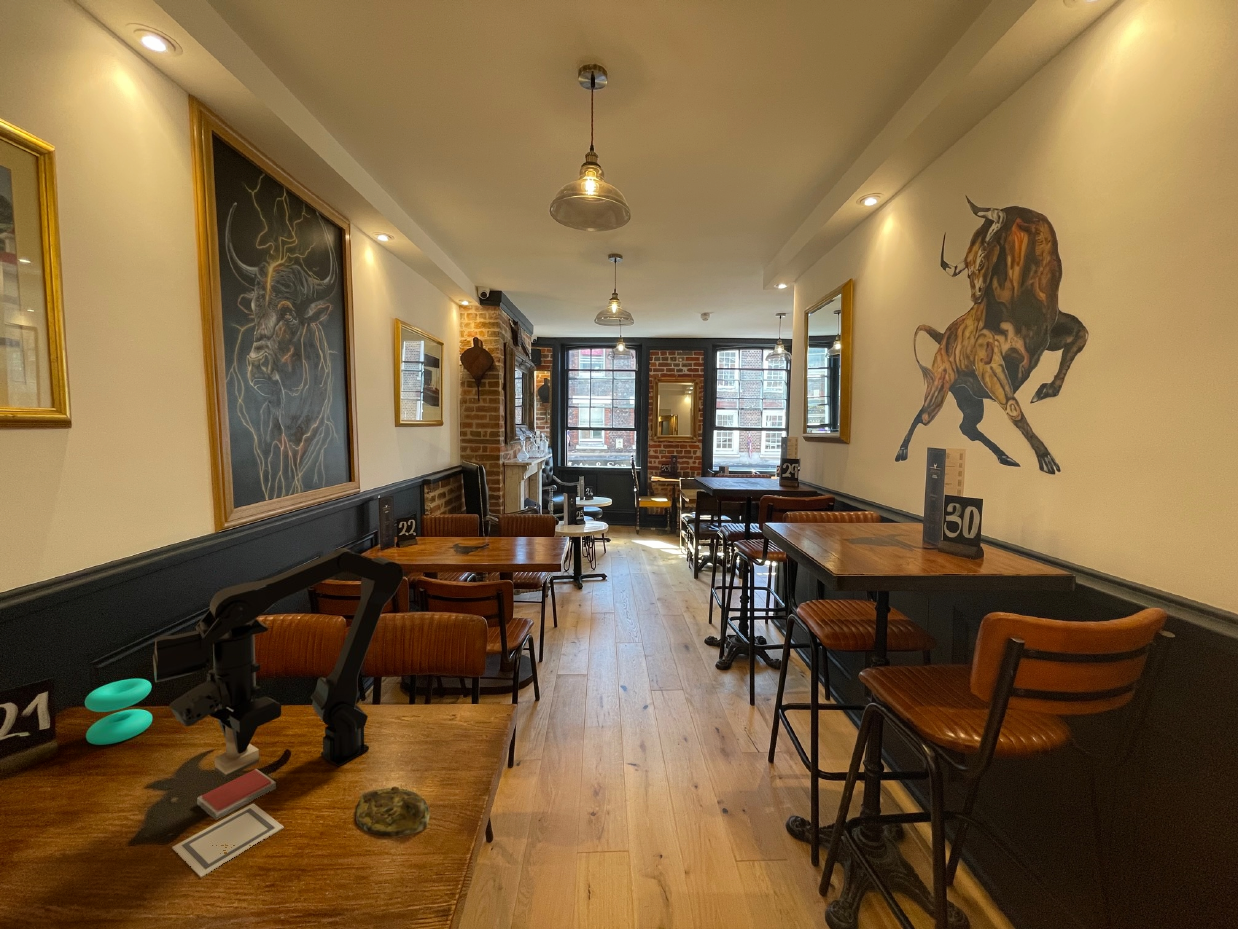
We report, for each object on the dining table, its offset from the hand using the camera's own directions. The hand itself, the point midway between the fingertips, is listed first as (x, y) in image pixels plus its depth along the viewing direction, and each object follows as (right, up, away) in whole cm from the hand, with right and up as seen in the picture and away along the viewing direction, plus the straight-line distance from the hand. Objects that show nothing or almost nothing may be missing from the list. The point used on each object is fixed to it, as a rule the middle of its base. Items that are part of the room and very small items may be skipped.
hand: (237, 749), depth 89 cm
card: (+5, -9, -9) cm, 14 cm away
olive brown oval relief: (+29, -10, -3) cm, 30 cm away
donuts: (-38, -7, +18) cm, 43 cm away
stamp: (0, -3, 0) cm, 3 cm away
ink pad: (0, -9, 0) cm, 9 cm away
